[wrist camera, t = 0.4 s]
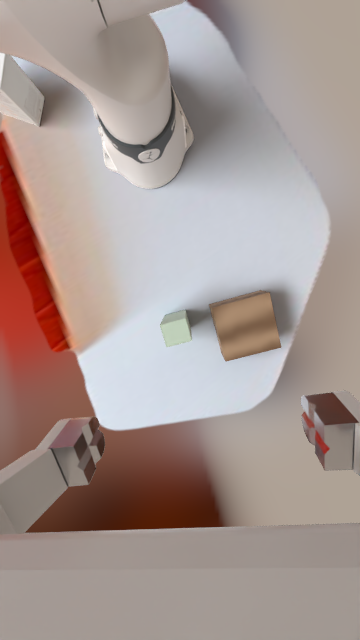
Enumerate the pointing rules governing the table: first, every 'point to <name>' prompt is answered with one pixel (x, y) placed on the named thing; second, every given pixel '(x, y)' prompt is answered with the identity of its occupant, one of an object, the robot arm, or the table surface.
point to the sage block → (176, 328)
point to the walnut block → (245, 325)
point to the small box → (18, 93)
